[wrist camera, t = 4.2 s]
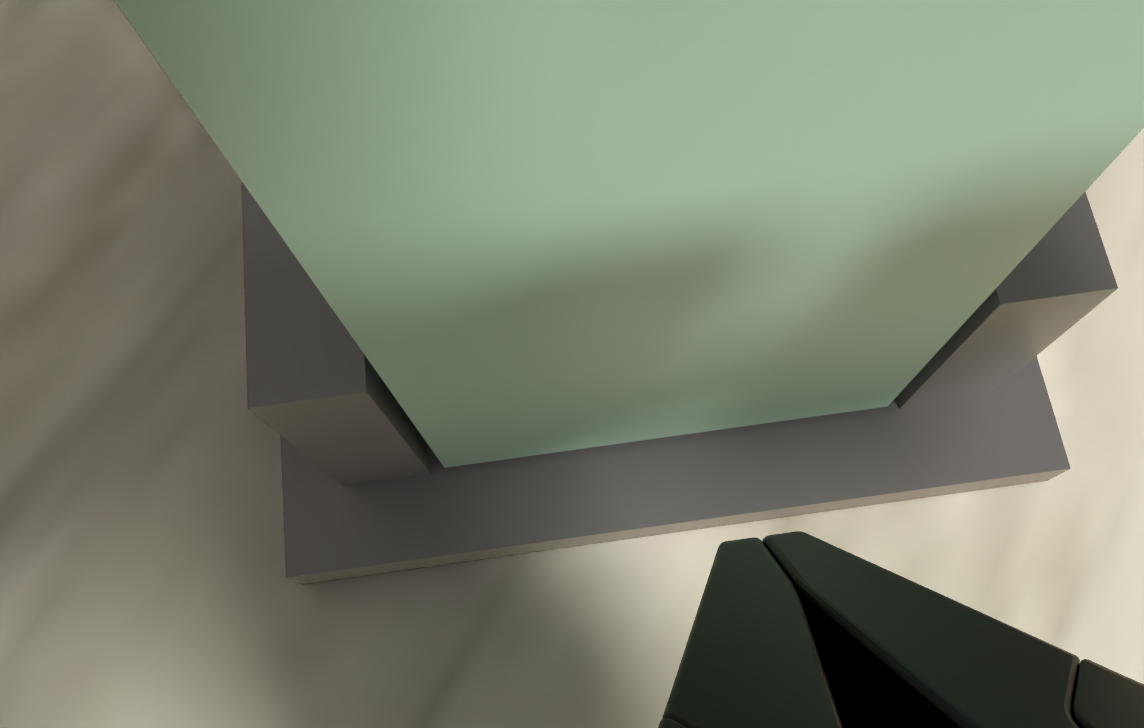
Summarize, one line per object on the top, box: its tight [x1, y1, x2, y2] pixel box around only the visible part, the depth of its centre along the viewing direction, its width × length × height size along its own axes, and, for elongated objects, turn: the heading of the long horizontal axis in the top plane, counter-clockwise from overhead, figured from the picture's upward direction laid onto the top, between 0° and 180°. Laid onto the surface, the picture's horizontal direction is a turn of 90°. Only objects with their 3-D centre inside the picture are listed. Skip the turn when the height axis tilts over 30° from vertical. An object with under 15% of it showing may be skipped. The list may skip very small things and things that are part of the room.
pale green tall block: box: [114, 0, 1144, 468], centre depth 12 cm, size 5×8×15 cm, turn 98°
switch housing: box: [242, 182, 1118, 584], centre depth 18 cm, size 17×14×7 cm
